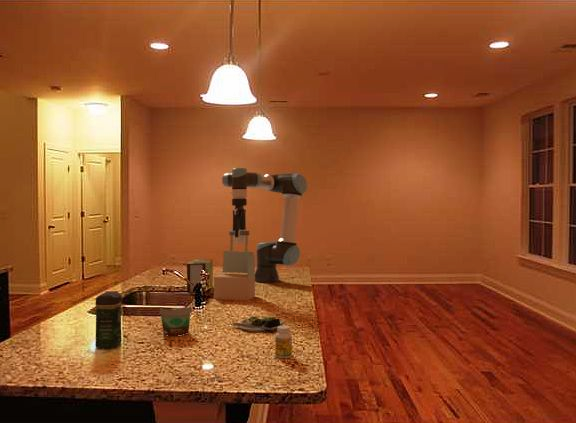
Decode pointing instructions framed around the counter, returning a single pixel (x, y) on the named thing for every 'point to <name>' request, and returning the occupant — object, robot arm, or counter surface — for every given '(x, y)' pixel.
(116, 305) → the coffee jar
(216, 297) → the carton
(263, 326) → the salad plate
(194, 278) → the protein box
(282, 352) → the supplement bottle
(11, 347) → the counter surface
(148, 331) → the counter surface
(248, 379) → the counter surface
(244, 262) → the flap
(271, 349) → the counter surface
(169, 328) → the food container
